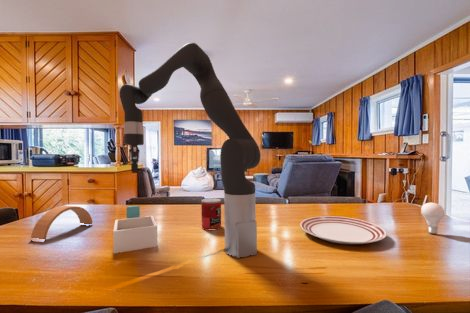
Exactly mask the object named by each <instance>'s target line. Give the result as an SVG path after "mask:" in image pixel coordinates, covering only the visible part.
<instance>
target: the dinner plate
mask: <svg viewBox="0 0 470 313" xmlns="http://www.w3.org/2000/svg"><path fill="white" fill-rule="evenodd" d="M299 225H300V227H301V230H303V231H304V232H306V233H307V234H310V235H311V236H313V237H316V238H317V239H318V238H319V239H321V240H322V241H323V240H324V241H327V242H330V243H335V244H341V245H364V244H370V243H376V242H379V241H382V240H384V239H385V238H386V237H387V235H388V234H387V231H386V229H384V228H383V227H381V226H379V225H378V224H375V223H374V222H373V223H372V222H370V221H366V220H362V219H358V218H355V217H354V218H353V217H347V216H333V215H332V216H330V215H325V216H324V215H321V216H314V217H308V218H305V219H303V220H302V221H300V224H299Z"/></svg>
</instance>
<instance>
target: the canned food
mask: <svg viewBox="0 0 470 313" xmlns="http://www.w3.org/2000/svg"><path fill="white" fill-rule="evenodd" d="M200 204H201V205H200V206H201V209H200V210H201V228H202V229H203V228H204V229H203V230H205V229H217V230H219V229H221V228H220V227H222V201H221V199H220V198H214V197H211V198H204V199H201V203H200ZM218 228H219V229H218Z"/></svg>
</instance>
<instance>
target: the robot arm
mask: <svg viewBox="0 0 470 313" xmlns="http://www.w3.org/2000/svg"><path fill="white" fill-rule="evenodd" d="M181 68H183V69H184V70H186V71H188V72H189V73H190V74H191V75H192V76H193V77H194V78H195V80H196V82H197V83H198V85H199V87H200V94H199V97H200V98H199V99H200V102H201V105H202V107H203V109H204V112H205V113H206V116H208V118H209V119H210V120H211V121H212V123H213V124H215V125H216V126H217V127H218V128H219V129H220V130H221V131H222V132H224V133H225V135H226V136H227V137H228V138H227V139H226V140H224V142H222V145H221V149H220V155H219V156H220V158H219V160H220V173H221V174H220V175H221V183H222V186H223V189H224V190H223V196H224V198H223V199H224V200H223V201H224V203H223V204H224V205H223V206H224V208H223V209H224V210H223V214H224V216H223V217H224V252H225V254H227V255H228V254H229V256H231V255H232V256H231V257H235V256H236V257H235V258H237V259H240V257H242V258H246V257H250V255H251V256H255V255H257V254H258V230H257V229H258V228H257V226H258V224H257V221H256V218H257V217H256V216H257V215H256V184H255V182H253V181H252V180H251V181H250V180H249V179H247V177H246V174H245V173H246V172H245V170H251V169H255V168H256V167H257V166H258V165H259V164H260V162H261V156H262V155H261V150H260V147H259V145H258V144H257V141H256V140H255V138H254V137H253V136H252V134H251V133H250V131H249V129H248V128H247V127H246V126H245V124H244V122H243V121H242V119H241V117H240V115H239V113H238V112H237V110H236V108H235V106H234V104H233V103H232V100H231V98H230V96H229V94H228V92H227V91H226V89H225V88H224V86H223V84H222V83H221V81H220V79H219V78H218V77H217V74H216V72H215V70H214V66H213V63H212V61H211V59H210V57H209V55H208V54H207V53H206V52H205V51H204V50H203V49H202V48H201V46H199V45H198V44H197V43H195V42H188V43H186V44H184V45H183V46H181V47H180V48H179V49H178V50H176V51H175V52H174V53H173V54H172V55H171V56H170V57H168V59H166V60H165V62H164V63H162V64H161V65H160V66H159V67H158V68H157V69H155V70H154V71H152V72H151V73H149V74H147V75H145V76H144V77H142V78H141V79H140V80H139V81H138V86H135V85H133V84H130V83H125V84H123V85H121V87H120V89H119V99H120V102H121V106H122V108H123V112H124V115H123V116H124V125H123V126H124V127H123V145H124V146H130V148H129V150H128V154H129V160H130V166H131V168H130V170H131V171H130V172H131V173H132V174H137V173H139V161H140V160H139V159H140V153H141V152H140V149H139V146H143V145H144V142H145V141H144V140H145V138H144V122H143V121H144V120H143V118H144V117H143V115H144V114H143V110H142V109H140V108H139V107H137V105H141V104H145V103H147V101H148V100H149V98H151V97H152V95H154V94H156V93H157V92H159V91H161V90H162V89H164V88H165V87H166V86H167V85H168V83H169V82H170V79H171V78H172V75H173V73H175V71H177V70H179V69H181Z"/></svg>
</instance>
